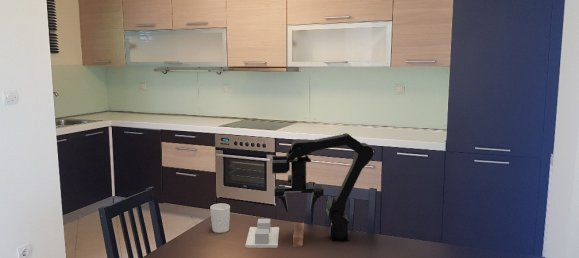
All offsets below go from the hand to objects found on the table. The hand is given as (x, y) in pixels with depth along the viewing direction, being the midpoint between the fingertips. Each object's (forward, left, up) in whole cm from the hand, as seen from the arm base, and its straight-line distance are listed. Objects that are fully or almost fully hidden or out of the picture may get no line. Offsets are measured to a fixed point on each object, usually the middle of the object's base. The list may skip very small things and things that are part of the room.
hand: (299, 212), depth 181 cm
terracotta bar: (0, 0, -11) cm, 11 cm away
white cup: (+32, -9, -11) cm, 35 cm away
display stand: (+14, 0, -11) cm, 18 cm away
